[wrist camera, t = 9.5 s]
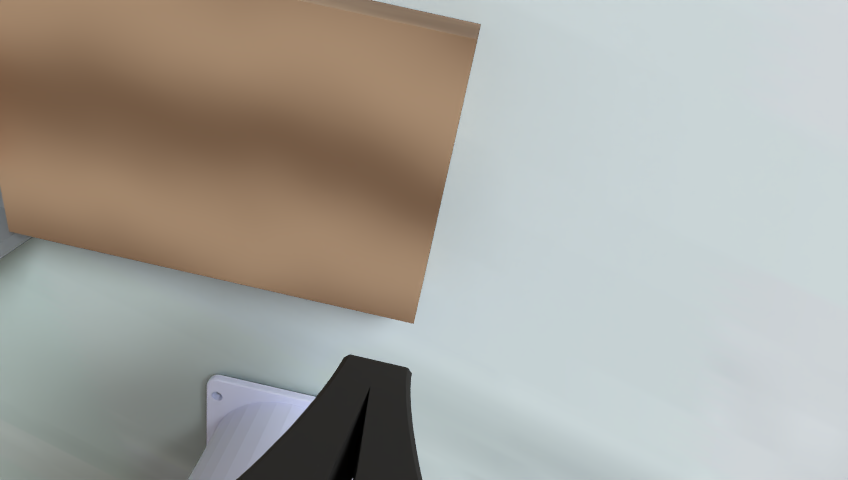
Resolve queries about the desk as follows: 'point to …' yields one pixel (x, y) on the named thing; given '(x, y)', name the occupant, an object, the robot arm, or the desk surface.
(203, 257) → the walnut board
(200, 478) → the robot arm
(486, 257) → the desk surface
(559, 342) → the desk surface
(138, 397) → the desk surface
